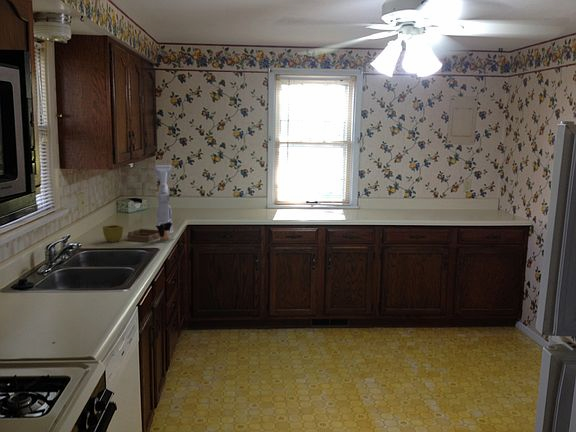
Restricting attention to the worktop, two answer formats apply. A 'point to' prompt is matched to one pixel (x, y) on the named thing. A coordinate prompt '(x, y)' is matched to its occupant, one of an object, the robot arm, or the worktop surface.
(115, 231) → the flower pot
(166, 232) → the seedling pot
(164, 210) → the robot arm
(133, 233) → the wooden square frame
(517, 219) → the worktop surface
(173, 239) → the rubber mat
